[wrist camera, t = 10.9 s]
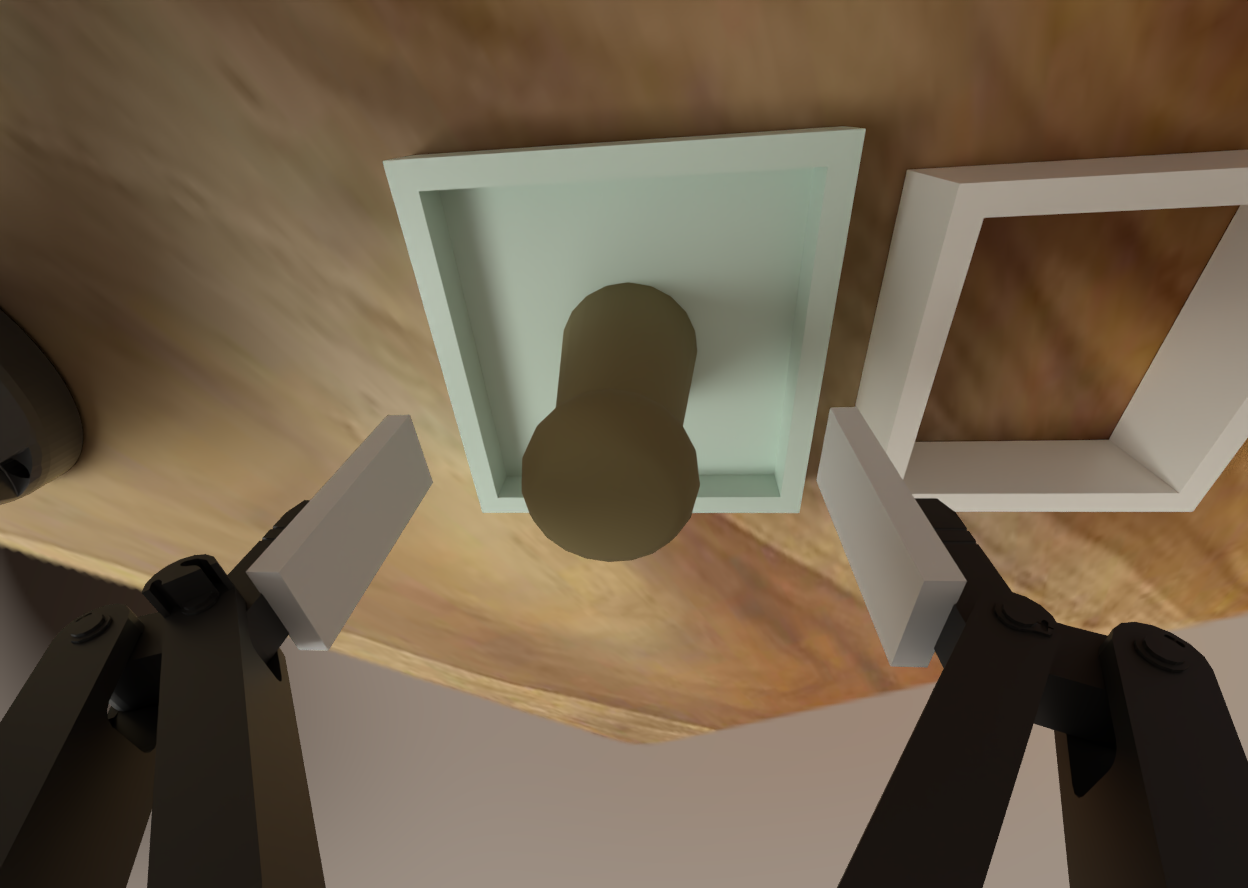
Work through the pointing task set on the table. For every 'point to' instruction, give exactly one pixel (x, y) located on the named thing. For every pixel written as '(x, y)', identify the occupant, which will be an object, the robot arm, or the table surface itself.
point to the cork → (617, 429)
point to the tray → (643, 254)
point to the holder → (1168, 394)
